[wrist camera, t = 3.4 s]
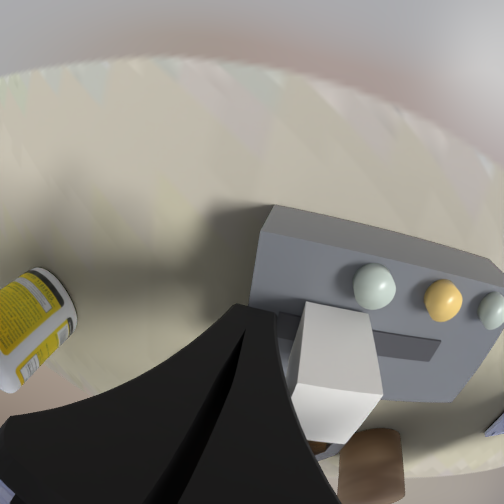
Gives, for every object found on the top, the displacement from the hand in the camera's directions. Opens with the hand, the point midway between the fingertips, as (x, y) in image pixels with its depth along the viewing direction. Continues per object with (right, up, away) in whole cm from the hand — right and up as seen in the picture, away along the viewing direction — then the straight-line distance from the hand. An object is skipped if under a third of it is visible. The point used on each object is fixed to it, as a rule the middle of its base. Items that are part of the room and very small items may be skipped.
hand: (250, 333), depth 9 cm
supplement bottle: (-14, -1, +8) cm, 16 cm away
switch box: (+5, 0, +3) cm, 6 cm away
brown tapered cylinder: (+9, -11, +7) cm, 16 cm away
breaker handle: (+2, 0, 0) cm, 2 cm away
